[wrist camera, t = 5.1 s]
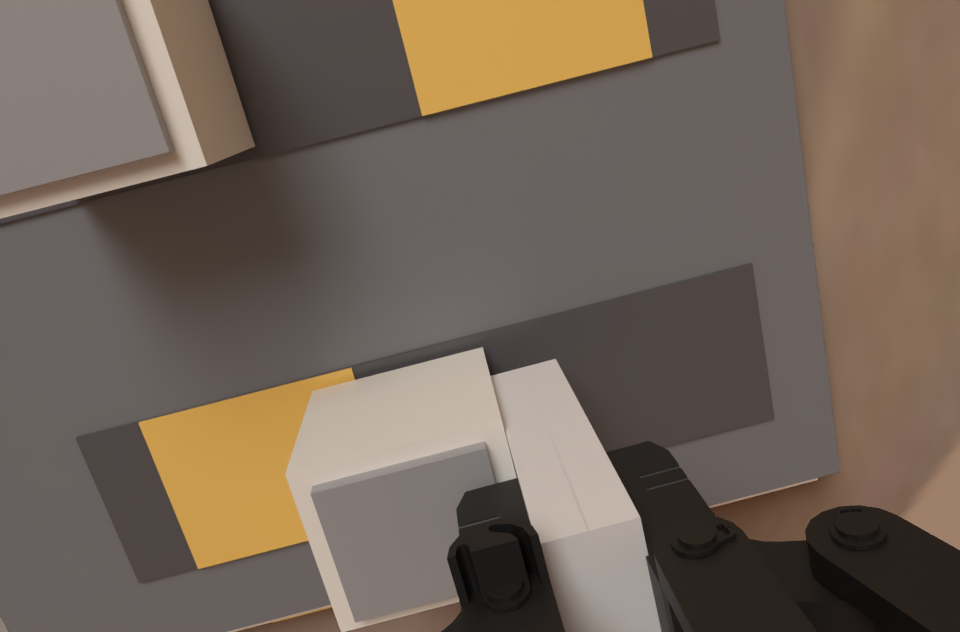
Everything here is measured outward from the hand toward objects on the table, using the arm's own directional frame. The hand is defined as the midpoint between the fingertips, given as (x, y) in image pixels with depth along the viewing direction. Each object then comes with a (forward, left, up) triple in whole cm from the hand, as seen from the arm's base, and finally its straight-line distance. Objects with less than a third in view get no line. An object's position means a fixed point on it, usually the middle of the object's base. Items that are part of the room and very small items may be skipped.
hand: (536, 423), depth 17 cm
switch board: (-3, +4, -3) cm, 6 cm away
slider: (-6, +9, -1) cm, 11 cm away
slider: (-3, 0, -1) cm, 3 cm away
